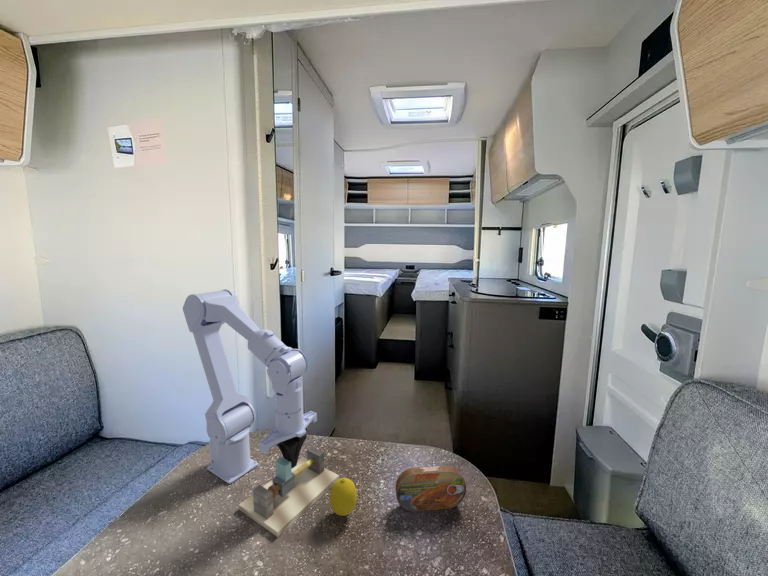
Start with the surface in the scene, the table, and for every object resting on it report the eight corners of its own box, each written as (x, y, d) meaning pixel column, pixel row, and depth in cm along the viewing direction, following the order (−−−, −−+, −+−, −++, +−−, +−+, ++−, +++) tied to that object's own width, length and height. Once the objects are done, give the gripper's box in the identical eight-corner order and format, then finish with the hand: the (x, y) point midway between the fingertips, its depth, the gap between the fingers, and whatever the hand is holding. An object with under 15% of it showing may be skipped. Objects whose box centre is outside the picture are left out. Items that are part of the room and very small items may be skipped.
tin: (395, 513, 68) (396, 476, 67) (394, 501, 71) (394, 466, 70) (465, 508, 70) (468, 472, 68) (461, 496, 73) (462, 462, 72)
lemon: (352, 527, 65) (352, 491, 63) (325, 522, 66) (325, 486, 64) (360, 505, 70) (360, 471, 69) (335, 501, 71) (335, 467, 70)
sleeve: (282, 497, 68) (281, 469, 68) (272, 491, 70) (271, 463, 69) (295, 486, 71) (294, 459, 71) (286, 481, 73) (285, 454, 72)
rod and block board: (278, 537, 62) (276, 509, 61) (239, 509, 69) (237, 483, 68) (339, 479, 77) (338, 456, 76) (302, 461, 84) (302, 439, 83)
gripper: (274, 429, 62) (277, 494, 64) (326, 398, 74) (327, 453, 76) (250, 418, 65) (253, 480, 67) (303, 390, 78) (305, 443, 80)
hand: (291, 465), depth 72 cm, fingers closed
